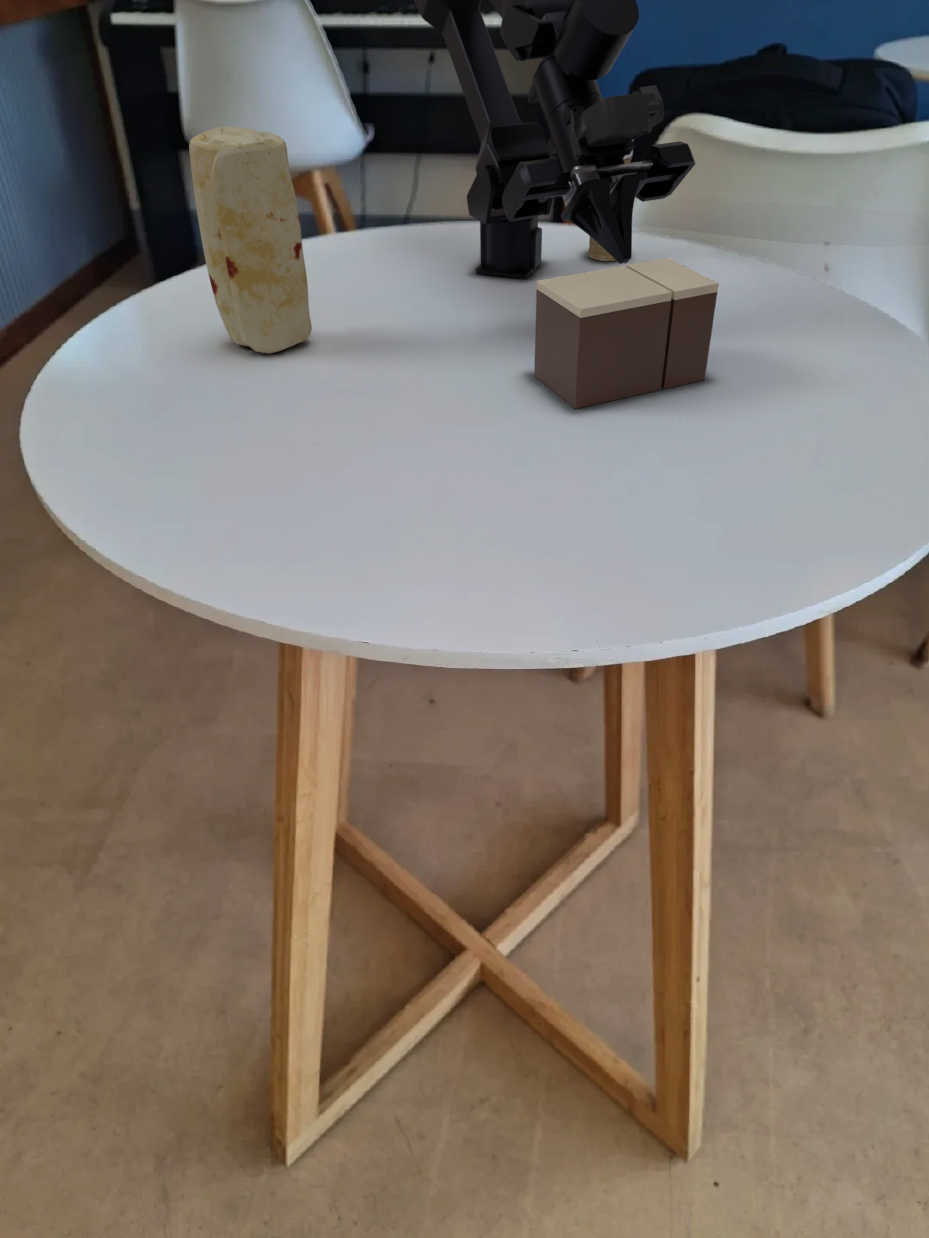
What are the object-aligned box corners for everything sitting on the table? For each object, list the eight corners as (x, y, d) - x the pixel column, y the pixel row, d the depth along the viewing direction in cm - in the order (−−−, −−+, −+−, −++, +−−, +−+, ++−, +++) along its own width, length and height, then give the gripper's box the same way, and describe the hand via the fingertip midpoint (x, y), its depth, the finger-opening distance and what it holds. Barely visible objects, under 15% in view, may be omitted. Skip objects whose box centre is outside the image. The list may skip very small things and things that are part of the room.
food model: (319, 331, 99) (294, 121, 86) (308, 357, 93) (279, 136, 81) (228, 332, 99) (190, 123, 87) (212, 357, 94) (169, 138, 82)
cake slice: (618, 358, 92) (626, 264, 86) (657, 350, 93) (667, 257, 87) (663, 389, 86) (675, 291, 80) (704, 380, 87) (718, 283, 82)
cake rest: (534, 375, 89) (536, 280, 83) (615, 358, 91) (623, 265, 86) (575, 409, 83) (580, 309, 77) (661, 389, 86) (672, 291, 80)
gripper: (516, 62, 81) (572, 227, 79) (697, 45, 86) (752, 199, 85) (479, 145, 91) (528, 292, 90) (642, 125, 97) (691, 263, 96)
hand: (625, 261), depth 90 cm, fingers closed
